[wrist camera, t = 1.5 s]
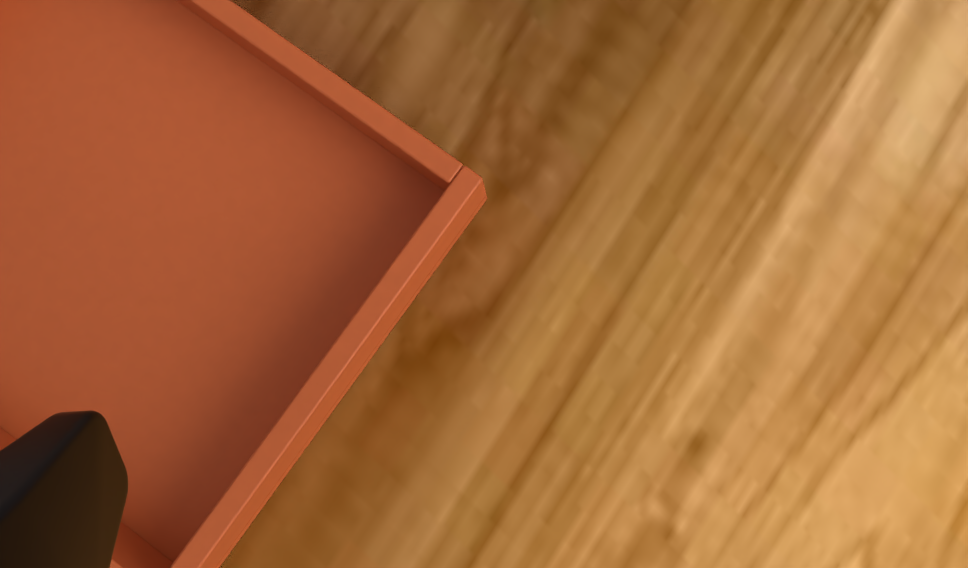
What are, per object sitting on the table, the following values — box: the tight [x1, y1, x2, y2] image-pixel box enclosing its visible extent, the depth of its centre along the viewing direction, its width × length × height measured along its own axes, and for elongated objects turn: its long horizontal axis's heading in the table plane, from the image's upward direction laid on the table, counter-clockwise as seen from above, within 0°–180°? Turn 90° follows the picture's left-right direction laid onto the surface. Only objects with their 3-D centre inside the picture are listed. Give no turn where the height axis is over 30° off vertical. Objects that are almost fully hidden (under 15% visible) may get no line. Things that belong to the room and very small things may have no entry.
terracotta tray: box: [0, 0, 487, 568], centre depth 23 cm, size 15×13×3 cm
